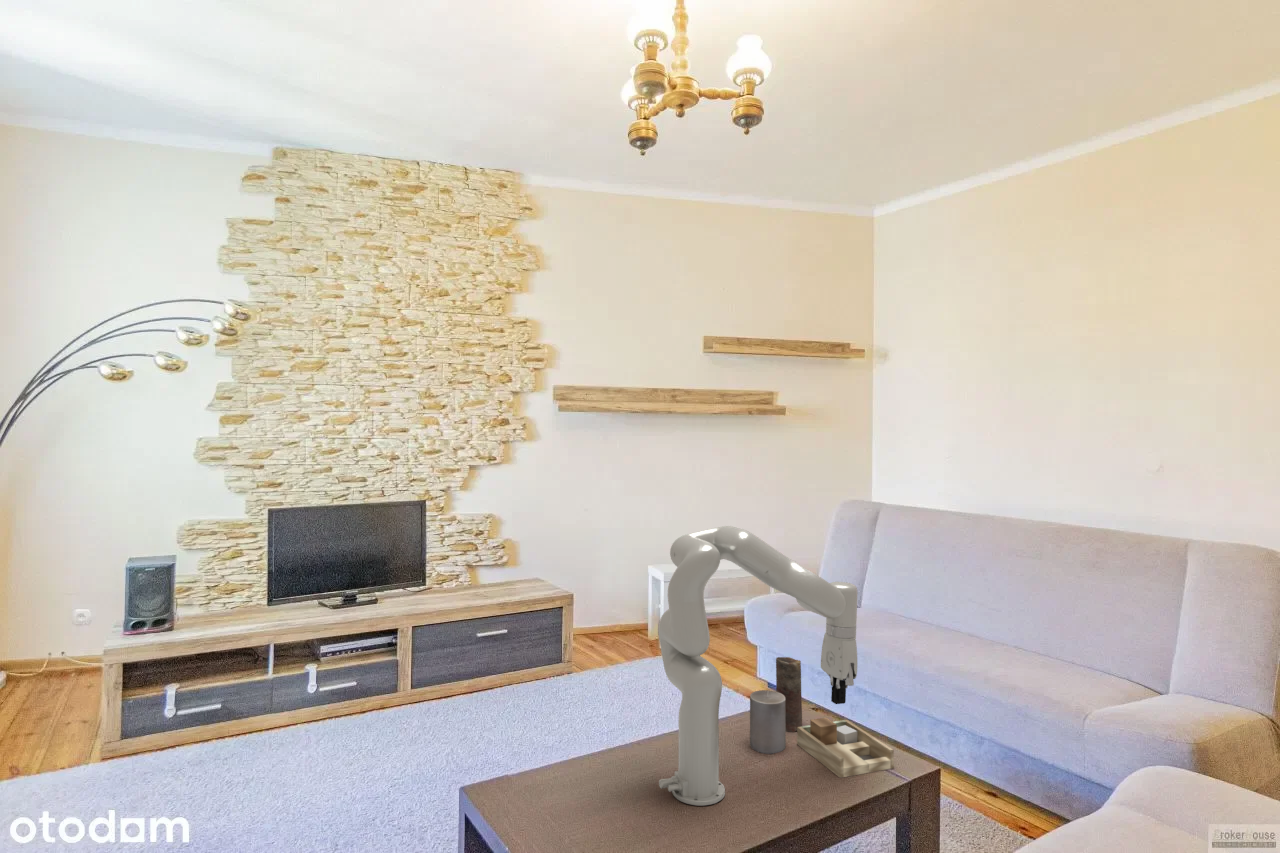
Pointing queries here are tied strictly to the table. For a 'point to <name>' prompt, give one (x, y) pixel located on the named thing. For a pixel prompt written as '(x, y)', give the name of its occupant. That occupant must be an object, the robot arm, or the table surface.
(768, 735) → the pillar candle
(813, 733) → the walnut block
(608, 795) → the table surface
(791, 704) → the brown wooden cylinder
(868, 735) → the tray
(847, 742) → the trapped grey block
